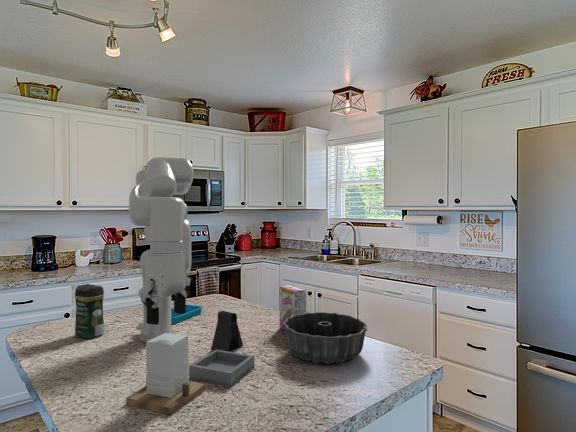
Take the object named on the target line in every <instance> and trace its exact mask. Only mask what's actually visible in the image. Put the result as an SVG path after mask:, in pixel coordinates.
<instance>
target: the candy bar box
mask: <svg viewBox="0 0 576 432" xmlns="http://www.w3.org/2000/svg"><path fill="white" fill-rule="evenodd" d="M278 287H279V288H278V289H279V329H280V330H283V331H285V327H284V325H283V323H284V321H286V318H290V317H291V316H293V315H297V314H304V313H307V290H305V289H303V288H300V287H297V286H293V285H280V286H278Z"/></svg>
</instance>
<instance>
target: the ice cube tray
mask: <svg viewBox="0 0 576 432" xmlns="http://www.w3.org/2000/svg"><path fill="white" fill-rule="evenodd" d="M203 308H204V306H203V305H195V304H187V303H186V313H185V314H179V313H175V312H174V307H171V325H172V324H179V323H181V322H183V321H186V320H189V319H190V318H194V317H195V315H196V316H198V315H201V313H202V309H203Z"/></svg>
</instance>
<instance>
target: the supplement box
mask: <svg viewBox="0 0 576 432" xmlns="http://www.w3.org/2000/svg"><path fill="white" fill-rule="evenodd" d="M145 354H146V356H145V357H146V359H145V360H146V362H145V363H146V366H145V367H146V368H145V369H146V376H147V394H152V395H157V396H163V397H168V398H172V397H174V396H175V395H177V394H178V393H179V392H181V391H182V384H183V383H189V381H190V380H189V379H190V378H189V365H190V364H189V335H183V334H177V333H176V334H168V333H164V334H162V335H160V336H158V337H156V338H153V339H151V340H149V341H147V342H145Z"/></svg>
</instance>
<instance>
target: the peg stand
mask: <svg viewBox="0 0 576 432" xmlns="http://www.w3.org/2000/svg"><path fill="white" fill-rule="evenodd" d="M205 391H206V384H205V383H201V382H197V381H193V380H192V381H191V380H189V383H183V384H182V391H181V392H179V393H178V394H177V395H175V396H174V397H172V398H168V397H163V396H157V395H152V394H147V375H146V378H145V386H143V387H142V388H140V389H139V390H137V391H135V392H133V393H131V394H130V395H128V396H126V398H125V399H126V402H125V404H126V405H130V406H134V407H137V408H142V409H145V410H149V411H153V412H156V413H160V414H165V415H169V416H173V415H174V413H177V412H178V411H180V409H181V408H183V407H184V406H185V405H187V404H189V403H190V402H191V401H193V400H194V399H196V398H197V397H198V396H199V395H201V394H203V393H204V392H205Z"/></svg>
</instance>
